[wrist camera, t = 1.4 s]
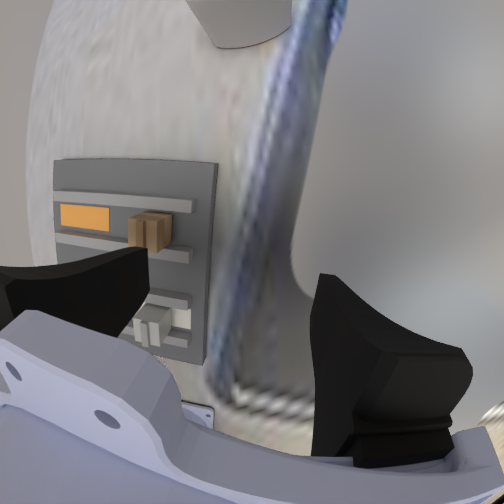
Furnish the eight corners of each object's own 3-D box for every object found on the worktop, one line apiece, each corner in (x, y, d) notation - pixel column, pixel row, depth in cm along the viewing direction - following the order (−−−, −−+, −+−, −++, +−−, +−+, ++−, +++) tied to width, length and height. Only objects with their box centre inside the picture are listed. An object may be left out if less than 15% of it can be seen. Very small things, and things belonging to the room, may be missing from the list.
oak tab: (171, 242, 19) (154, 255, 17) (145, 239, 20) (125, 251, 17) (172, 213, 19) (154, 222, 16) (145, 211, 19) (125, 219, 16)
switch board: (205, 357, 24) (199, 373, 22) (75, 323, 25) (63, 334, 23) (218, 163, 19) (210, 163, 17) (62, 159, 20) (45, 161, 18)
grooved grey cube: (171, 328, 22) (157, 350, 19) (148, 323, 22) (132, 343, 19) (170, 306, 21) (156, 326, 18) (146, 302, 21) (130, 320, 18)
